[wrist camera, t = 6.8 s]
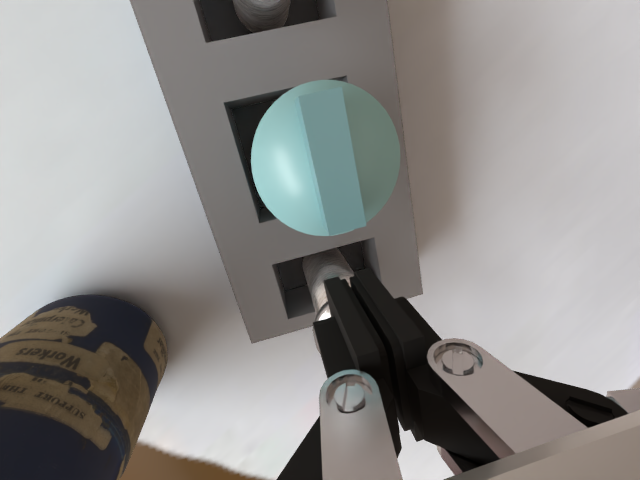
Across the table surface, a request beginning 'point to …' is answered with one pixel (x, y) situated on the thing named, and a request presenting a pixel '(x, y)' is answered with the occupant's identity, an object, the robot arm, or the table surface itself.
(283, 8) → the plunger
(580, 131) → the table surface
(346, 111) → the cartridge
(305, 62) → the housing
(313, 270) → the plunger
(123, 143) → the table surface
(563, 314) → the table surface
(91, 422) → the canister
